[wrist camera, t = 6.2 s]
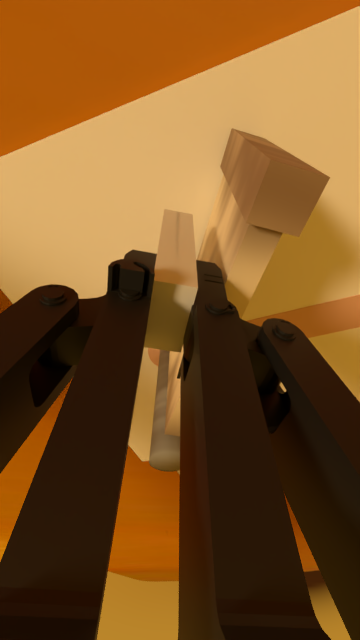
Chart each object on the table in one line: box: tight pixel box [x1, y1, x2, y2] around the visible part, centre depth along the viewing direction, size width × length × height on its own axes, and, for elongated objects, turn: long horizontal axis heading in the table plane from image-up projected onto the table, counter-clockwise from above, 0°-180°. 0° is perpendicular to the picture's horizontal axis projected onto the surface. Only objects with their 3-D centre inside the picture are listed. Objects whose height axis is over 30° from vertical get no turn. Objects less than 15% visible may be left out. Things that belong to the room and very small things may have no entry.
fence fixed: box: [149, 350, 180, 475], centre depth 26 cm, size 18×2×9 cm, turn 18°
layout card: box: [0, 6, 360, 461], centre depth 24 cm, size 28×34×1 cm
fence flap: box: [165, 128, 330, 436], centre depth 16 cm, size 15×2×9 cm, turn 166°
